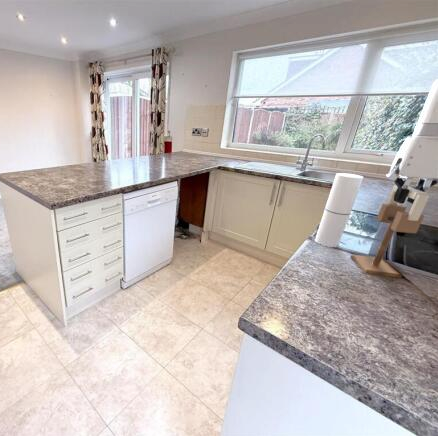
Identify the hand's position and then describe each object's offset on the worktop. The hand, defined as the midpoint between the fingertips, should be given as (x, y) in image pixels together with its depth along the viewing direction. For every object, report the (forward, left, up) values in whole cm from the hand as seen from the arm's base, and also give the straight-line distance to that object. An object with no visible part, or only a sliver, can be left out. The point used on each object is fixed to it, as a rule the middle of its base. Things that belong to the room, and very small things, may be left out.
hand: (405, 202), depth 67 cm
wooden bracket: (0, 0, -7) cm, 7 cm away
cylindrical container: (+8, -14, -21) cm, 27 cm away
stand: (0, 0, -21) cm, 21 cm away
